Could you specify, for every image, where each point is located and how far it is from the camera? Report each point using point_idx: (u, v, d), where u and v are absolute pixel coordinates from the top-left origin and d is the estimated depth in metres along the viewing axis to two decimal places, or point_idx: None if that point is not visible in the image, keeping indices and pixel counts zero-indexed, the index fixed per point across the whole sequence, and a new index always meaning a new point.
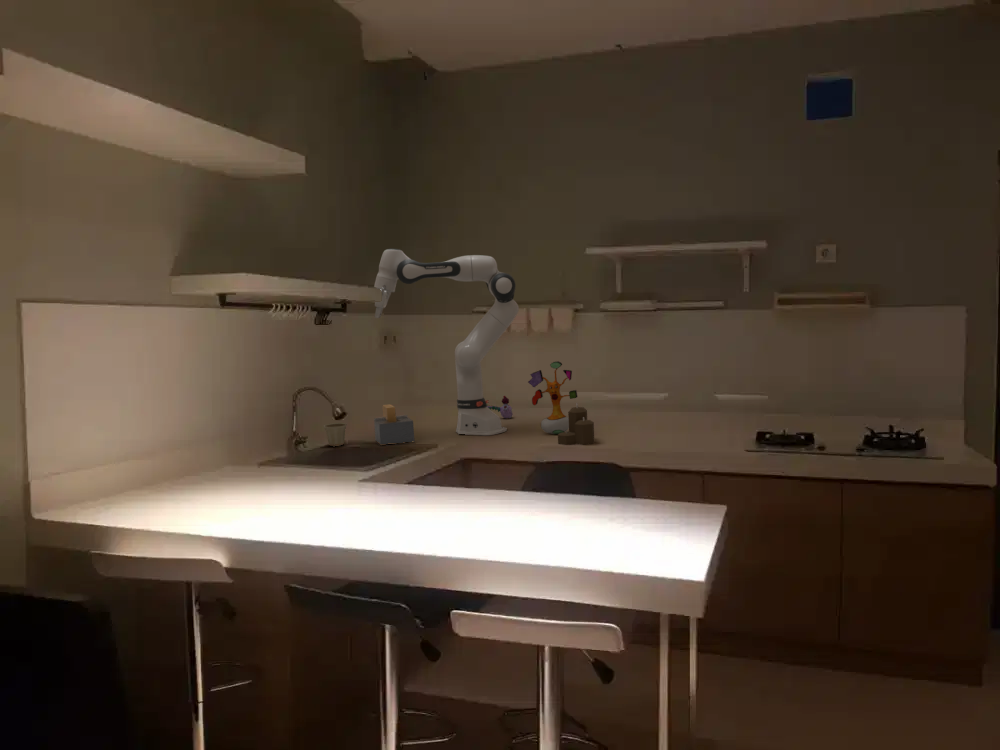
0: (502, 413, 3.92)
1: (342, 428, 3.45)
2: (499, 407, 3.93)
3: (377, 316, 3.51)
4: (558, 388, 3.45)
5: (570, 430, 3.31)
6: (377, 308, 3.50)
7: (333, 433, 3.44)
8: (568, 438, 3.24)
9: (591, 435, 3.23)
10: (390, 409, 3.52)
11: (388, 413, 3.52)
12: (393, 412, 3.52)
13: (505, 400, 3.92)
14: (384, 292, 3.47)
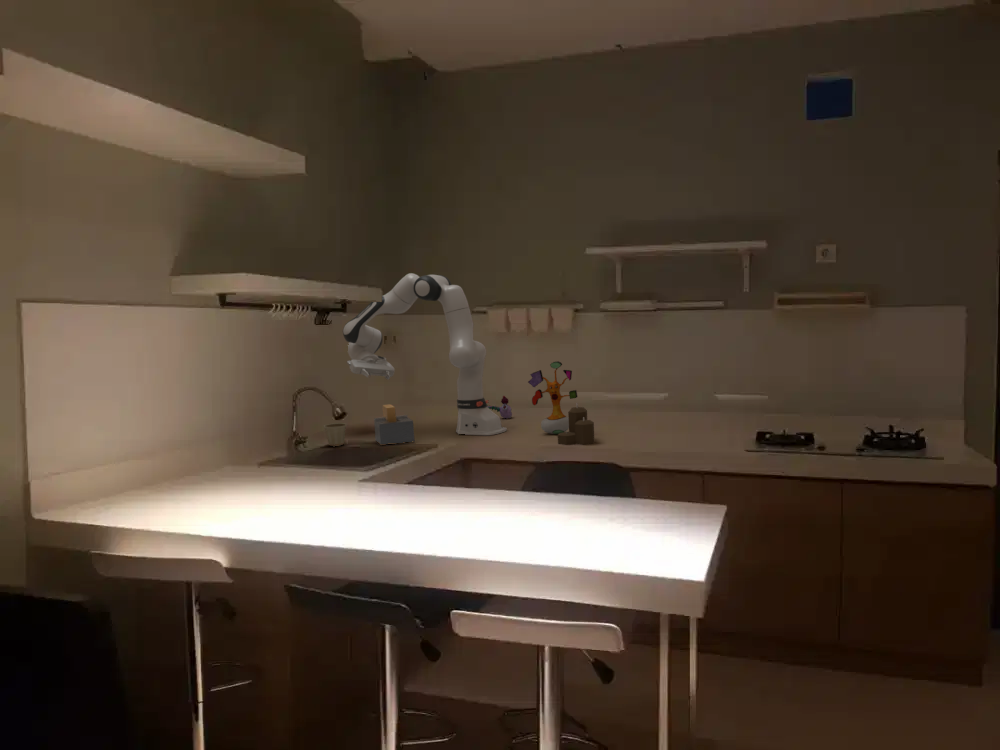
0: (501, 413, 3.92)
1: (342, 428, 3.45)
2: (498, 407, 3.93)
3: (367, 374, 3.61)
4: (558, 388, 3.45)
5: (570, 430, 3.31)
6: (361, 372, 3.63)
7: (333, 433, 3.44)
8: (568, 438, 3.24)
9: (591, 435, 3.23)
10: (390, 409, 3.52)
11: (388, 413, 3.52)
12: (393, 412, 3.52)
13: (504, 400, 3.92)
14: (350, 361, 3.66)
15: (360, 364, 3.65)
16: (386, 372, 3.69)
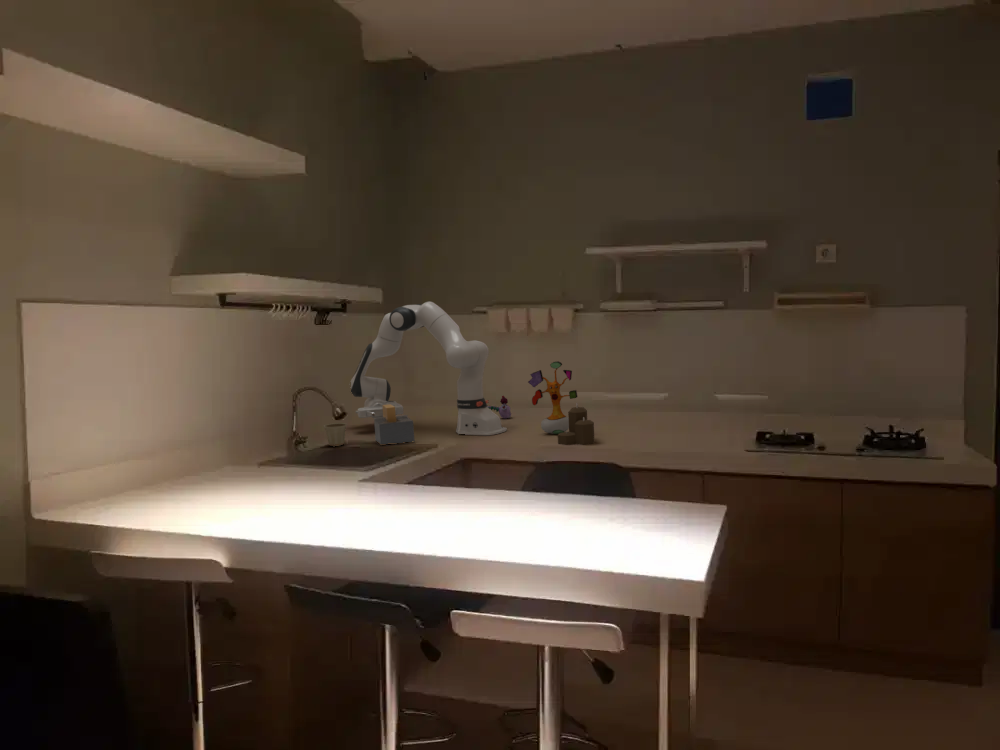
0: (501, 413, 3.92)
1: (342, 428, 3.45)
2: (498, 407, 3.93)
3: (370, 414, 3.67)
4: (558, 388, 3.45)
5: (570, 430, 3.31)
6: (367, 414, 3.70)
7: (333, 433, 3.44)
8: (568, 438, 3.24)
9: (591, 435, 3.23)
10: (390, 409, 3.52)
11: (388, 413, 3.52)
12: (393, 412, 3.52)
13: (504, 400, 3.92)
14: None
15: (365, 408, 3.73)
16: None
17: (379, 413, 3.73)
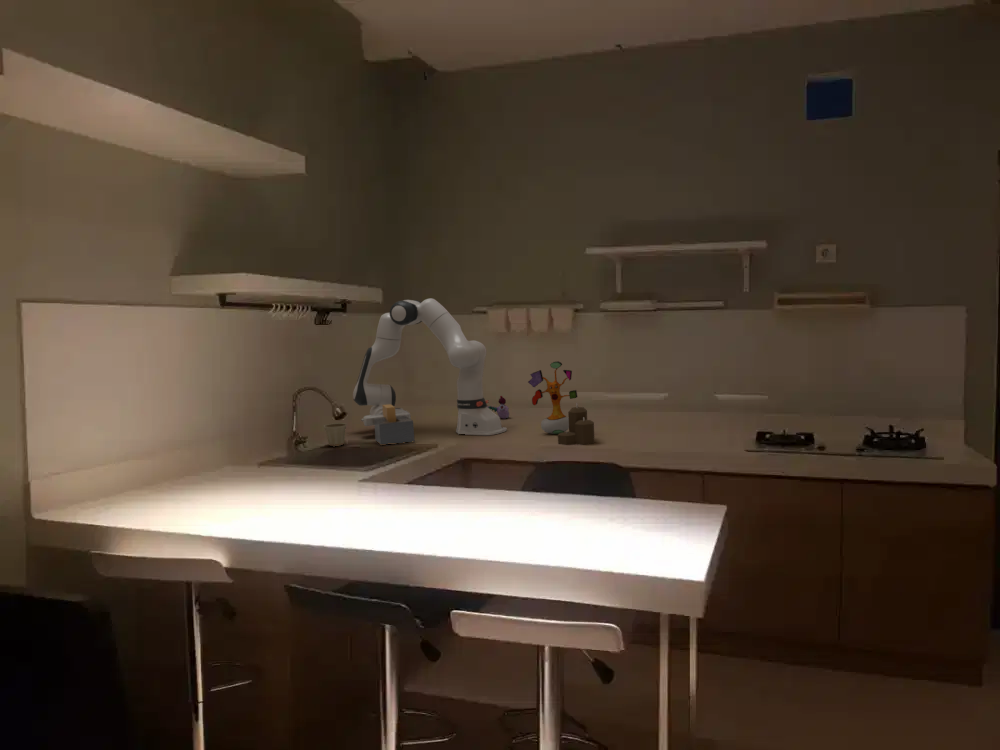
0: (499, 413, 3.92)
1: (342, 428, 3.45)
2: (496, 407, 3.93)
3: None
4: (558, 388, 3.45)
5: (570, 430, 3.31)
6: None
7: (333, 433, 3.44)
8: (568, 438, 3.24)
9: (591, 435, 3.23)
10: (390, 409, 3.52)
11: (388, 413, 3.52)
12: (393, 412, 3.52)
13: (502, 400, 3.92)
14: None
15: (371, 416, 3.61)
16: None
17: None
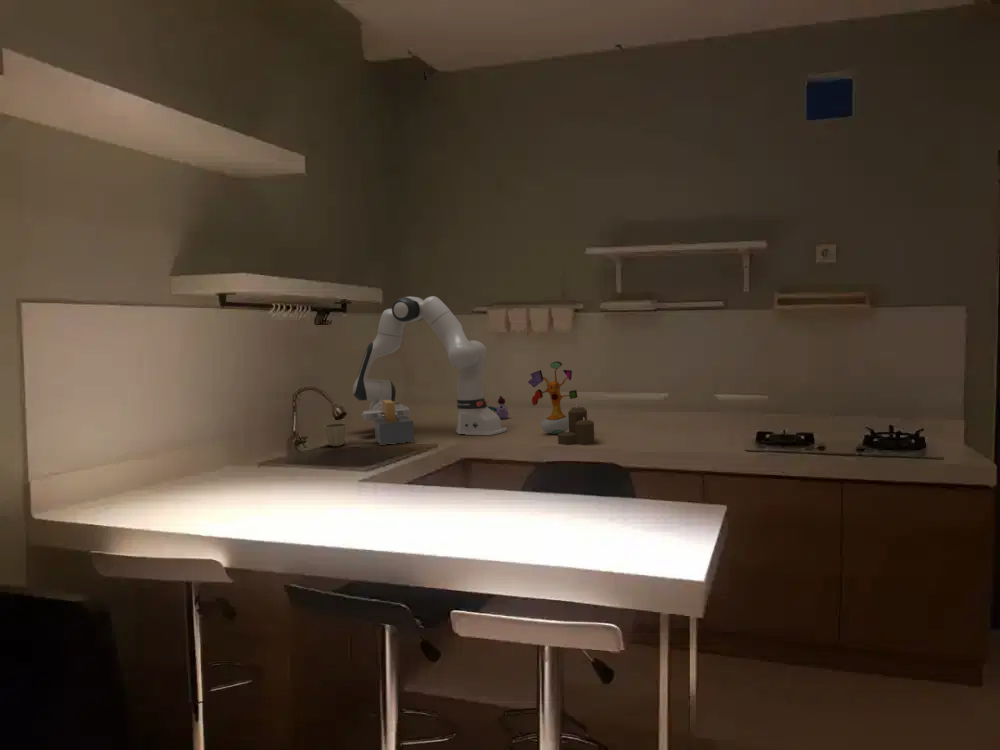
0: (498, 413, 3.92)
1: (342, 428, 3.45)
2: (495, 407, 3.93)
3: (381, 416, 3.56)
4: (558, 388, 3.45)
5: (570, 430, 3.31)
6: (377, 417, 3.59)
7: (333, 433, 3.44)
8: (568, 438, 3.24)
9: (591, 435, 3.23)
10: (389, 404, 3.52)
11: (387, 408, 3.52)
12: (392, 407, 3.52)
13: (501, 400, 3.92)
14: None
15: (371, 411, 3.61)
16: None
17: None
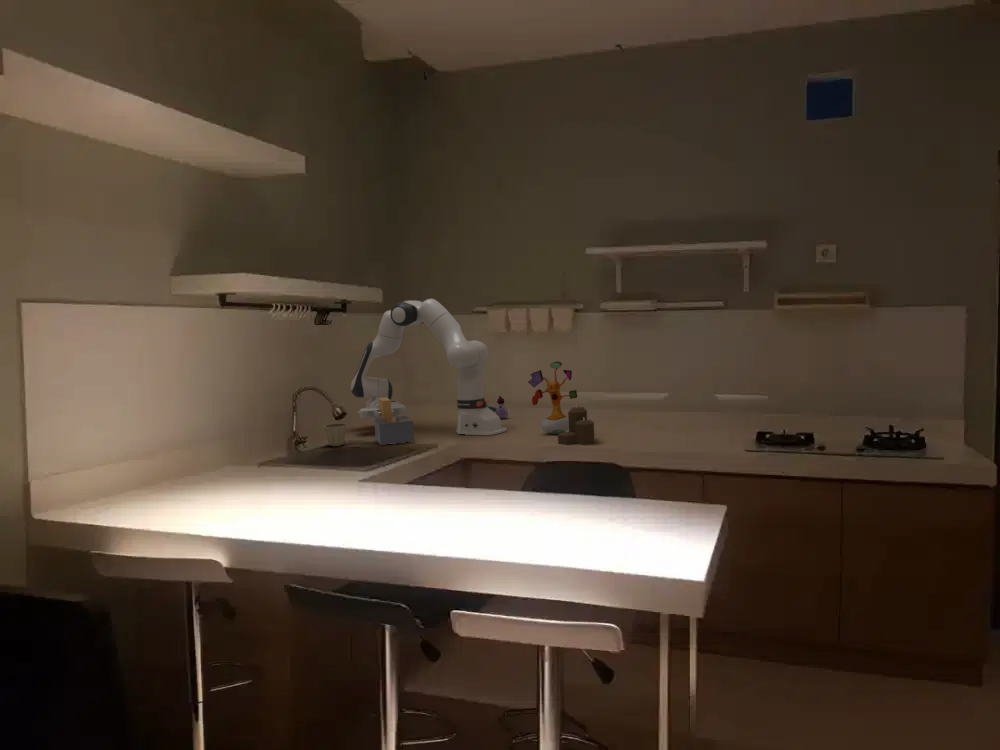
0: (497, 413, 3.92)
1: (342, 428, 3.45)
2: (494, 407, 3.93)
3: (378, 414, 3.63)
4: (558, 388, 3.45)
5: (570, 430, 3.31)
6: (374, 414, 3.66)
7: (333, 433, 3.44)
8: (569, 438, 3.24)
9: (591, 435, 3.23)
10: (386, 402, 3.59)
11: (384, 406, 3.59)
12: (389, 405, 3.60)
13: (500, 400, 3.92)
14: None
15: (368, 409, 3.68)
16: None
17: None
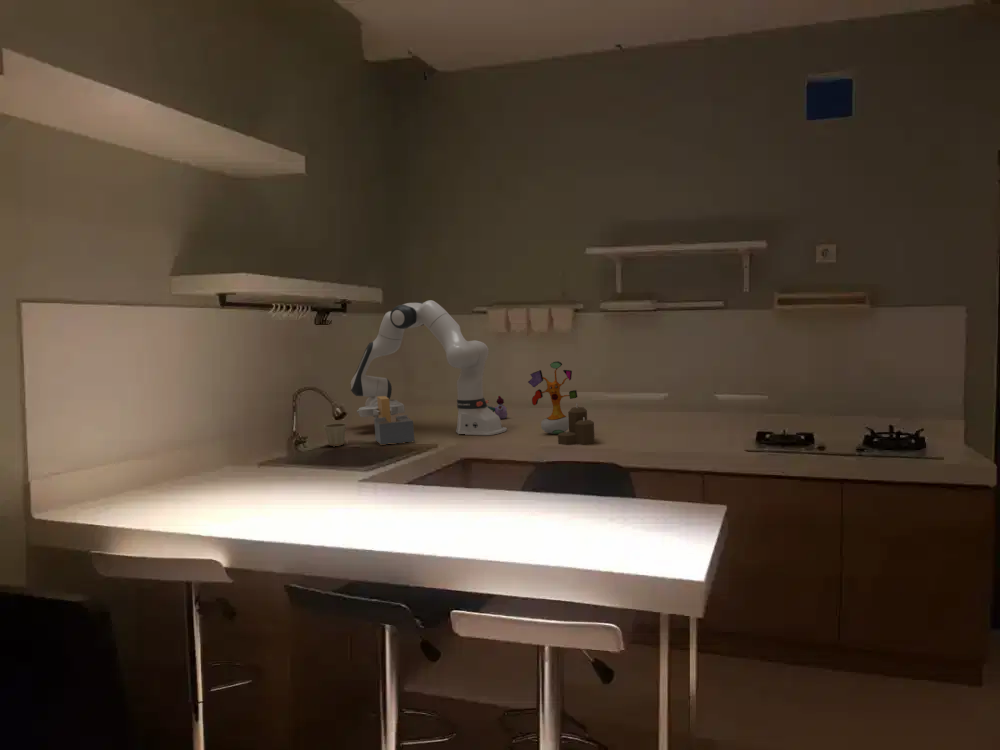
0: (497, 413, 3.92)
1: (342, 428, 3.45)
2: (494, 407, 3.93)
3: (377, 412, 3.67)
4: (558, 388, 3.45)
5: (570, 430, 3.31)
6: (373, 413, 3.70)
7: (333, 433, 3.44)
8: (569, 438, 3.24)
9: (591, 435, 3.23)
10: (384, 400, 3.63)
11: (382, 404, 3.63)
12: (387, 403, 3.63)
13: (500, 400, 3.92)
14: None
15: (366, 407, 3.72)
16: None
17: None
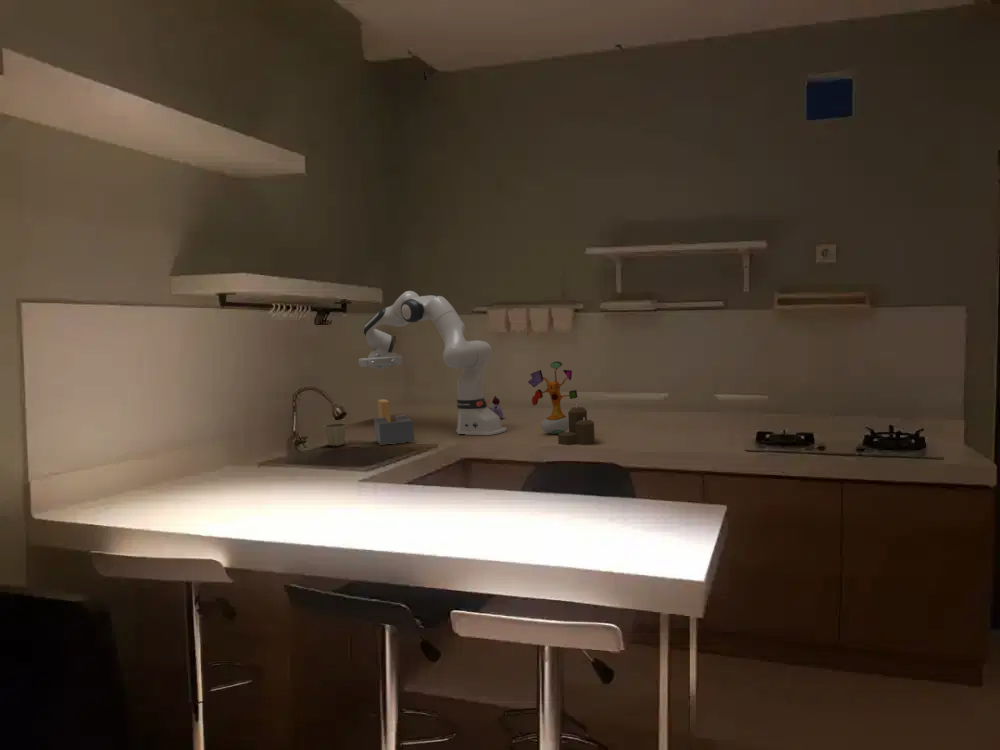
0: None
1: (342, 428, 3.45)
2: (490, 407, 3.93)
3: (371, 362, 3.83)
4: (558, 388, 3.45)
5: (570, 430, 3.31)
6: (367, 363, 3.86)
7: (333, 433, 3.44)
8: (569, 438, 3.24)
9: (592, 435, 3.23)
10: (384, 403, 3.69)
11: (383, 407, 3.69)
12: (387, 406, 3.70)
13: (496, 400, 3.92)
14: None
15: (366, 358, 3.89)
16: (392, 359, 3.89)
17: (379, 362, 3.89)
